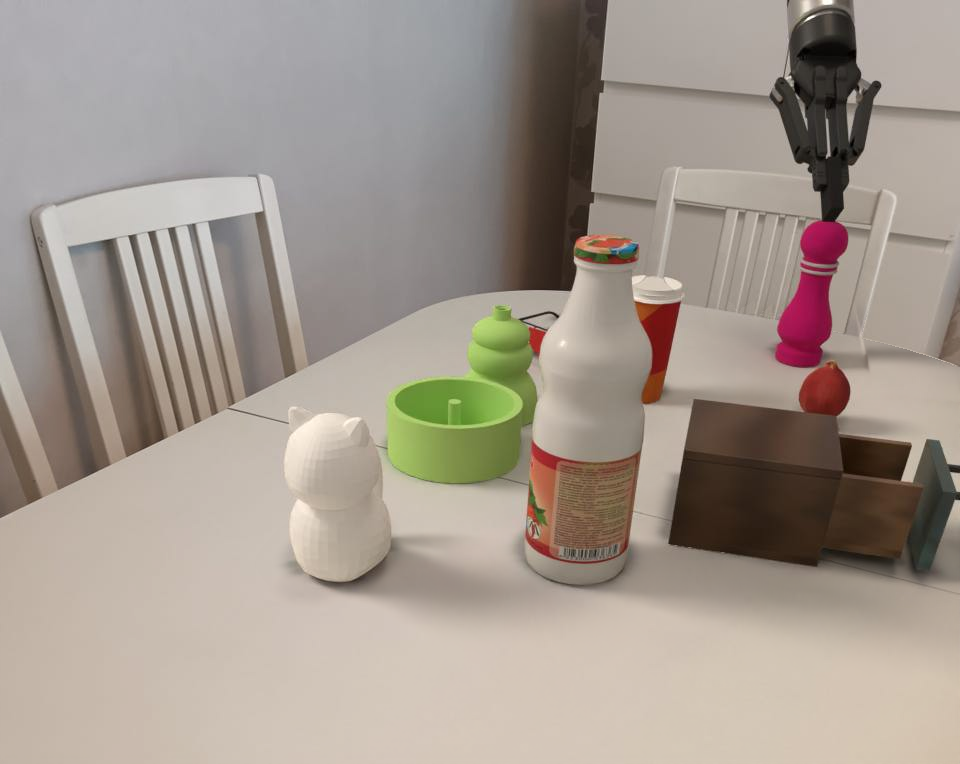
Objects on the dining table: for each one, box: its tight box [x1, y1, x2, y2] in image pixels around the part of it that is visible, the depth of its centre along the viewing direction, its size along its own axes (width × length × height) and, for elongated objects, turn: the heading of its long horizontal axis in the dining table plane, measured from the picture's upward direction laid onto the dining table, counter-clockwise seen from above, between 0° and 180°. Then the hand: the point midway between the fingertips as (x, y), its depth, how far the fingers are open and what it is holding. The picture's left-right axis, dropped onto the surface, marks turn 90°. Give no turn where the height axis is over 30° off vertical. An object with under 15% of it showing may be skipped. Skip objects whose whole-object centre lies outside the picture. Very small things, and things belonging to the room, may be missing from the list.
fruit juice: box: [524, 234, 652, 586], centre depth 81 cm, size 9×9×28 cm
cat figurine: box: [283, 405, 392, 583], centre depth 84 cm, size 9×12×15 cm
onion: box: [798, 359, 851, 417], centre depth 115 cm, size 6×6×8 cm
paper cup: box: [632, 274, 686, 405], centre depth 119 cm, size 8×8×14 cm
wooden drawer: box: [822, 433, 960, 572], centre depth 91 cm, size 18×12×8 cm, turn 76°
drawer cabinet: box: [667, 398, 843, 567], centre depth 93 cm, size 14×13×10 cm
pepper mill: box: [774, 219, 849, 368], centre depth 130 cm, size 7×7×20 cm
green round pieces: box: [385, 304, 538, 484], centre depth 108 cm, size 25×15×13 cm, turn 157°
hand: (832, 214), depth 112 cm, fingers closed
